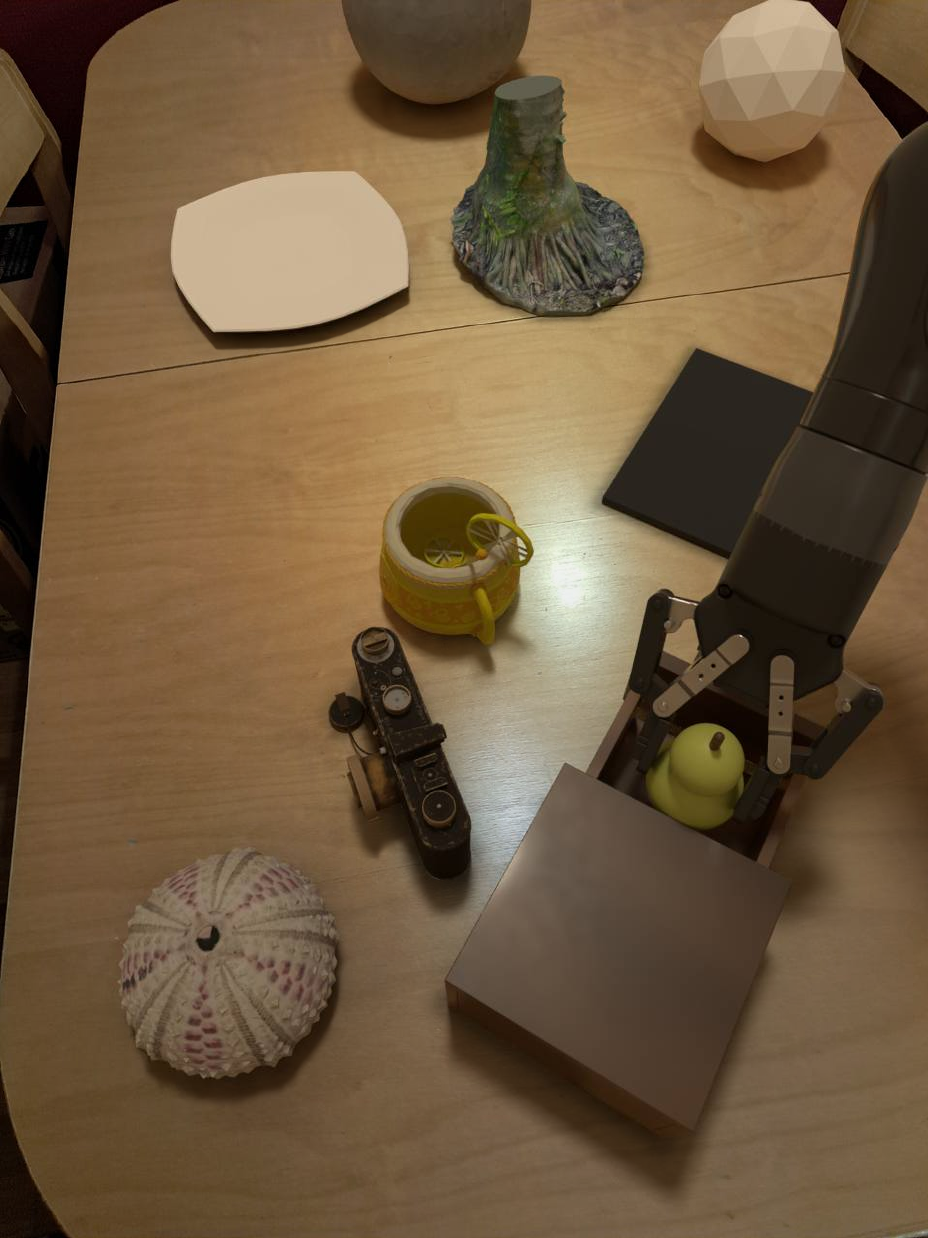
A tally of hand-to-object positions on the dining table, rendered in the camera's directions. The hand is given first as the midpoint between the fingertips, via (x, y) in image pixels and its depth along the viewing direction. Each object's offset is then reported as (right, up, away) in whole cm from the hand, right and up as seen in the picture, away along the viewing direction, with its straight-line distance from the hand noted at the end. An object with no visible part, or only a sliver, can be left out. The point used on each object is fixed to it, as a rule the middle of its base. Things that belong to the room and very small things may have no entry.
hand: (690, 792), depth 55 cm
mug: (-14, +12, +19) cm, 26 cm away
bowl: (-16, +73, +55) cm, 92 cm away
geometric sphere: (+18, +62, +48) cm, 81 cm away
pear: (+1, -1, +5) cm, 5 cm away
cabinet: (-5, -12, +4) cm, 13 cm away
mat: (+10, +24, +25) cm, 36 cm away
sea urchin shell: (-28, -12, +4) cm, 31 cm away
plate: (-31, +46, +39) cm, 67 cm away
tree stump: (-5, +47, +40) cm, 62 cm away
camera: (-18, -1, +11) cm, 21 cm away
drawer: (+2, -1, +9) cm, 10 cm away
